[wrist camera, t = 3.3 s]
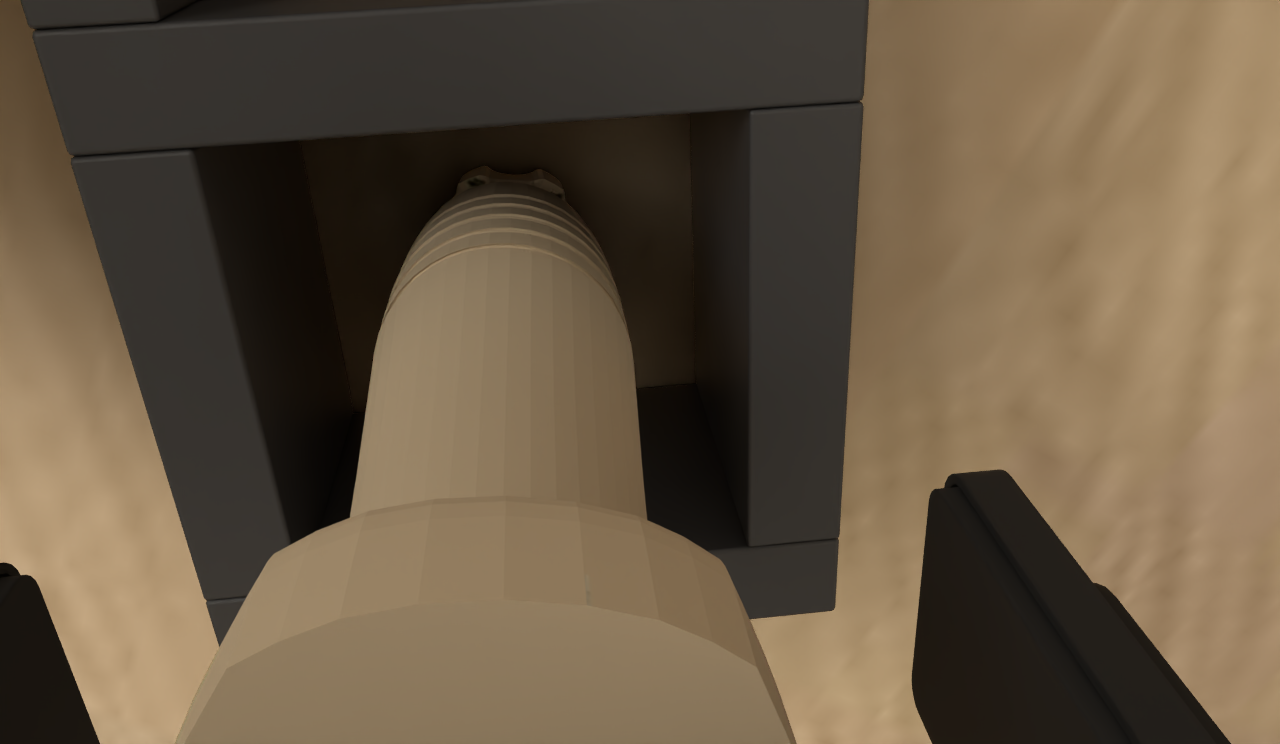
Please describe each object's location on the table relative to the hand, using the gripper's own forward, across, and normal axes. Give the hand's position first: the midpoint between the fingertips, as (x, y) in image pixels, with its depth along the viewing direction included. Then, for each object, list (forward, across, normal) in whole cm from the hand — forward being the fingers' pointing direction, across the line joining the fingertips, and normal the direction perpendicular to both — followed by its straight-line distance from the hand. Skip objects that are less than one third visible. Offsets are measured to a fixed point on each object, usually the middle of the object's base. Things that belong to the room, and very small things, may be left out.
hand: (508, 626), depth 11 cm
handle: (+12, 0, 0) cm, 12 cm away
